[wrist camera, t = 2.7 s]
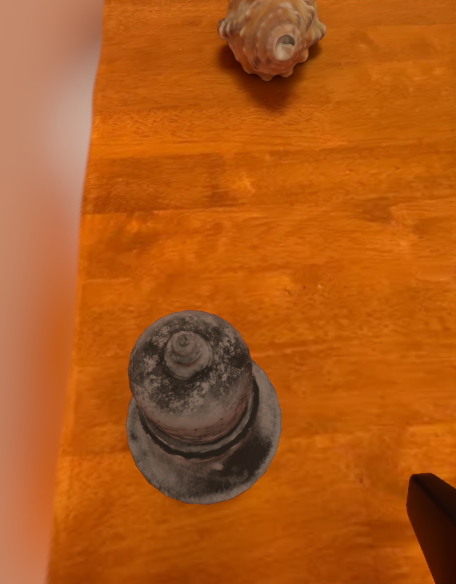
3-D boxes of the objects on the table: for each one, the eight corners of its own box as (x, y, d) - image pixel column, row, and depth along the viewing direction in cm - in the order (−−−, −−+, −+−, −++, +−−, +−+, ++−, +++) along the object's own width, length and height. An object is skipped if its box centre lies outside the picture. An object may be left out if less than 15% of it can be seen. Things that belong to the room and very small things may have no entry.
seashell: (332, 104, 33) (370, 30, 23) (238, 131, 33) (235, 69, 23) (304, -5, 33) (331, -129, 23) (209, 23, 33) (195, -86, 23)
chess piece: (161, 358, 20) (85, 197, 9) (278, 378, 19) (346, 236, 9) (127, 488, 17) (-39, 480, 6) (262, 515, 17) (330, 555, 6)
